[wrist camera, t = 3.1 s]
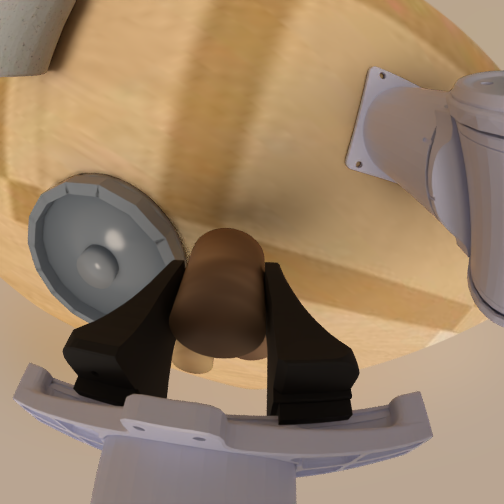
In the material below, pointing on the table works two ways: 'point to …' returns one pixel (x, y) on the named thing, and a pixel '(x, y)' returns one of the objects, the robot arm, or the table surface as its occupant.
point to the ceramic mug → (30, 34)
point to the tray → (99, 243)
